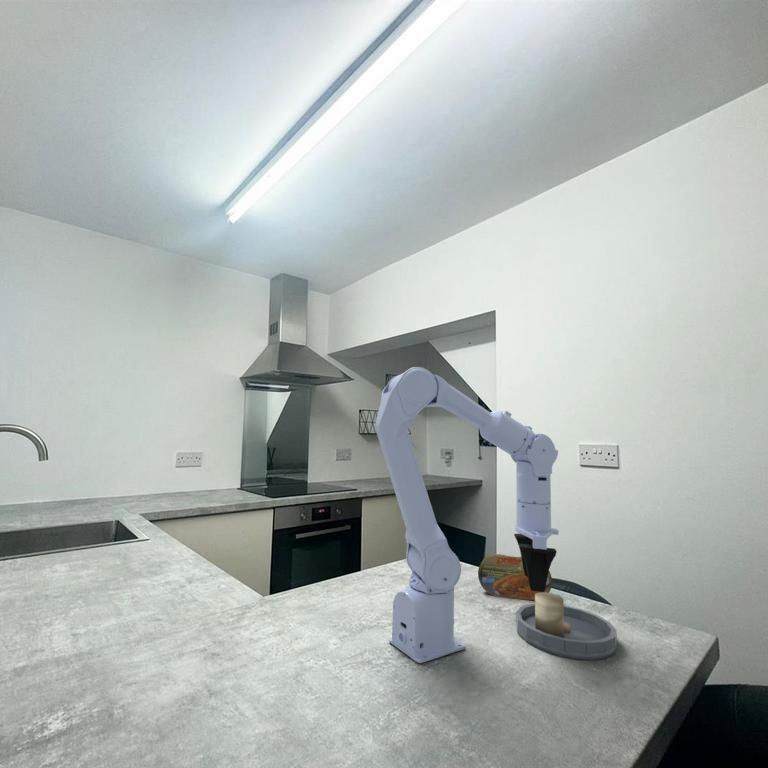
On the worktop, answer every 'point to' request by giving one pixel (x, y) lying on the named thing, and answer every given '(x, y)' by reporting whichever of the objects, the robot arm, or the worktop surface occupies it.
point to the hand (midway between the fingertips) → (534, 583)
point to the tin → (507, 577)
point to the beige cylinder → (549, 614)
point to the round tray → (570, 634)
